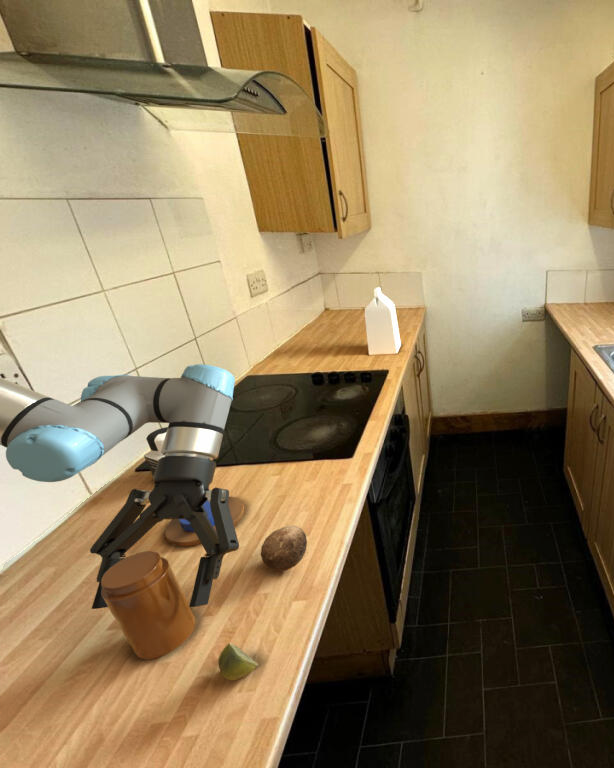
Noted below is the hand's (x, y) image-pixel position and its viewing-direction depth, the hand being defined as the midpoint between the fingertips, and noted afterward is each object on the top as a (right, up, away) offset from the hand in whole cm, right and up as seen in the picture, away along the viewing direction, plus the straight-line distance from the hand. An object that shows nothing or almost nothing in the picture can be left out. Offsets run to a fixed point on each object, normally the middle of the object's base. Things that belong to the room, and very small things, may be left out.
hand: (150, 606), depth 59 cm
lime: (+15, -8, -2) cm, 17 cm away
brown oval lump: (+11, 0, +15) cm, 19 cm away
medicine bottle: (-27, +10, +39) cm, 48 cm away
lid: (-10, +6, +23) cm, 26 cm away
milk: (-3, +47, +119) cm, 128 cm away
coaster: (-10, +4, +24) cm, 27 cm away
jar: (0, -6, +3) cm, 6 cm away
